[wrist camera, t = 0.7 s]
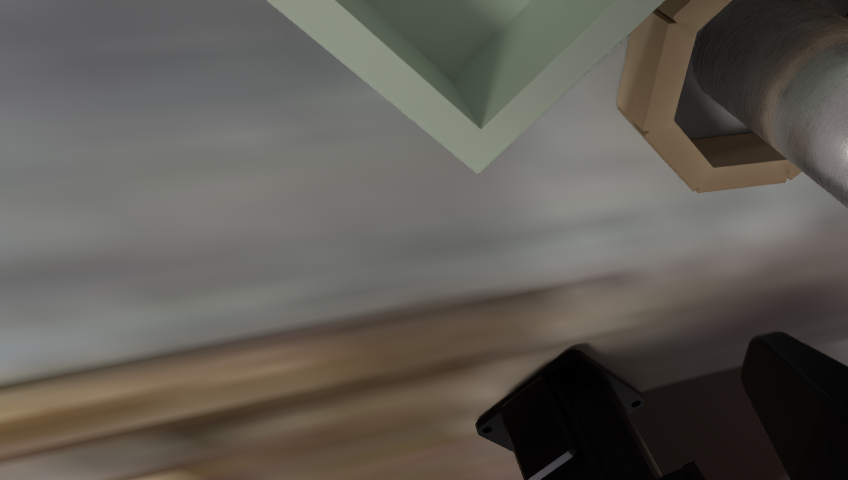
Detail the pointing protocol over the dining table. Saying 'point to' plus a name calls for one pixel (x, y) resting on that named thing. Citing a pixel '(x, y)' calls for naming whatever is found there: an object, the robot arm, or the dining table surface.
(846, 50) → the strut
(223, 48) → the dining table surface
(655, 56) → the socket ring
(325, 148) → the dining table surface
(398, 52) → the bin
